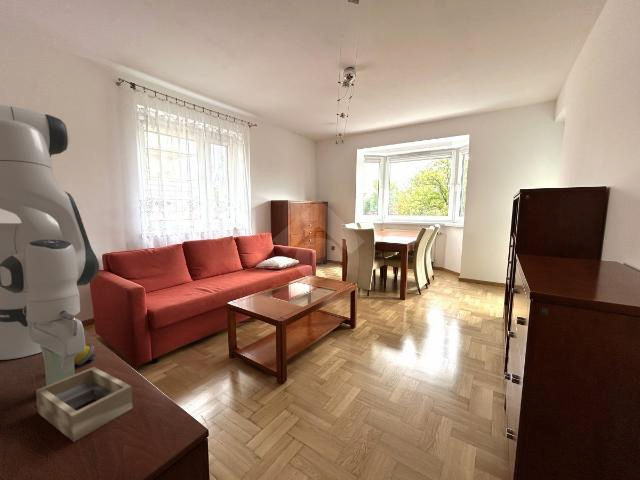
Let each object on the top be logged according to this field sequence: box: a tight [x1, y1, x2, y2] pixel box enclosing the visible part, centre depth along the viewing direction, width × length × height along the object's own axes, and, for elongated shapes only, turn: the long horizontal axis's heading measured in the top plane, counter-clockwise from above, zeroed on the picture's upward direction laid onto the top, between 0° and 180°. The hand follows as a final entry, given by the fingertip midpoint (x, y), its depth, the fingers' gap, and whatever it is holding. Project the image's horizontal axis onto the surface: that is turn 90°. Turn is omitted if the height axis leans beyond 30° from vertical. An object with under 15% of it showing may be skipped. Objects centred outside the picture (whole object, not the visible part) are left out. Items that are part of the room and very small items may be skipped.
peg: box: [43, 348, 76, 386], centre depth 64 cm, size 4×4×10 cm
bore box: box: [35, 366, 133, 443], centre depth 57 cm, size 16×10×5 cm, turn 63°
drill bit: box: [74, 344, 97, 366], centre depth 74 cm, size 5×5×10 cm
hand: (58, 365), depth 64 cm, fingers open, 8 cm apart
